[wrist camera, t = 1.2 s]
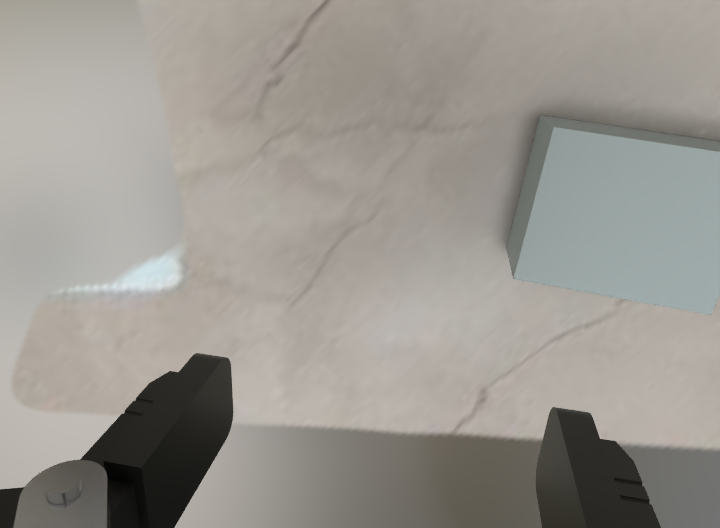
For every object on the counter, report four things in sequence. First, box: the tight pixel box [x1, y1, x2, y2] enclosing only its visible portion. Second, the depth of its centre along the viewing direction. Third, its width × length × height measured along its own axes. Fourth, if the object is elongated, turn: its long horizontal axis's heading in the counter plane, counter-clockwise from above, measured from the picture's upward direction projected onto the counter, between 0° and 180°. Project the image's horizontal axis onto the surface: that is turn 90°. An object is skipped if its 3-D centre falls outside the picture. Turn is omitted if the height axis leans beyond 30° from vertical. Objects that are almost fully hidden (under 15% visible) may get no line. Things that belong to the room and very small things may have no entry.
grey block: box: [506, 115, 720, 315], centre depth 28 cm, size 8×10×5 cm
